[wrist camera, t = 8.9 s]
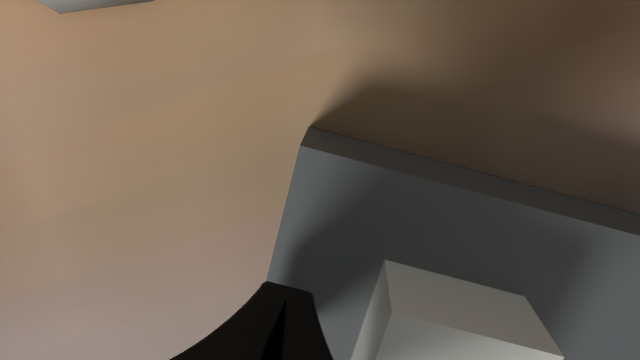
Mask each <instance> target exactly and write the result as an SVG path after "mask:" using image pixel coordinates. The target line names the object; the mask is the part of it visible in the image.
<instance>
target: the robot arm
mask: <svg viewBox="0 0 640 360" xmlns="http://www.w3.org/2000/svg"><path fill="white" fill-rule="evenodd" d="M170 360H334V359H333V357H332V355H331V352H330V350H329V347H328V345H327V342H326V339H325V337H324V334H323V331H322V328H321V325H320V322H319V318H318V315H317V311H316V306H315V301H314V296H313V295H312V293H311V292H308V291H304V290H301V289H297V288H293V287H289V286H285V285H281V284H277V283H273V282H270V281H266V282H264V283H262V285H261V286H260V288H259V289H258V290H257V292H256V293H255V294H254V295H253V296H252V297H251V298H250V299H249V300H248V301H247V303H246V304H245V305H243V306H242V307H241V308H240V309H239V310H238V311H237V312H236V313H235V314H234V315H233V316H232V317H231V318H229V319H228V320H227V321H226V322H225V323H223V324H222V325H221V326H220V327H218V328H217V329H216V330H215V331H213V332H212V333H211V334H209V335H208V336H207V337H205V338H204V339H202V340H201V341H199V342H198V343H197V344H195V345H193V346H192V347H190V348H189V349H187V350H186V351H184V352H182V353H180V354H179V355H177V356H175V357H173V358H172V359H170Z"/></svg>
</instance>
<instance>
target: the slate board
mask: <svg viewBox="0 0 640 360" xmlns="http://www.w3.org/2000/svg"><path fill="white" fill-rule="evenodd" d="M384 260H388V261H392V262H396V263H400V264H404V265H407V266H411V267H415V268H419V269H423V270H426V271H430V272H434V273H438V274H442V275H445V276H449V277H453V278H457V279H461V280H464V281H468V282H472V283H476V284H480V285H483V286H487V287H491V288H495V289H499V290H502V291H506V292H510V293H514V294H518V295H521V296H525V298H526V299H527V301H528V302H529V304H530V305H531V307H532V308H533V310H534V311H535V313H536V314H537V316H538V317H539V319H540V321H541V322H542V324H543V325H544V327H545V328H546V330H547V331H548V333H549V334H550V336H551V337H552V339H553V340H554V342H555V343H556V345H557V347H558V348H559V350H560V351H561V353H562V354H563V356H564V359H563V360H640V215H638V214H634V213H631V212H627V211H623V210H619V209H616V208H612V207H608V206H604V205H601V204H597V203H593V202H589V201H586V200H582V199H578V198H574V197H571V196H567V195H563V194H559V193H556V192H552V191H548V190H544V189H541V188H537V187H533V186H529V185H526V184H522V183H518V182H514V181H511V180H507V179H503V178H499V177H496V176H492V175H488V174H484V173H481V172H477V171H473V170H469V169H466V168H462V167H458V166H454V165H451V164H447V163H443V162H439V161H436V160H432V159H428V158H424V157H421V156H417V155H413V154H409V153H406V152H402V151H398V150H394V149H391V148H387V147H383V146H379V145H376V144H372V143H368V142H364V141H361V140H357V139H353V138H349V137H346V136H342V135H338V134H334V133H331V132H327V131H323V130H319V129H316V128H312V127H308V130H307V132H306V134H305V136H304V138H303V140H302V142H301V145H300V148H299V152H298V156H297V160H296V164H295V168H294V172H293V176H292V180H291V184H290V188H289V192H288V196H287V200H286V204H285V208H284V212H283V216H282V220H281V224H280V228H279V232H278V236H277V240H276V244H275V248H274V252H273V256H272V260H271V264H270V268H269V272H268V276H267V280H266V281H270V282H273V283H277V284H281V285H285V286H289V287H293V288H297V289H301V290H304V291H308V292H311V293H312V295H313V296H314V301H315V306H316V311H317V315H318V318H319V322H320V325H321V328H322V331H323V334H324V337H325V339H326V342H327V345H328V347H329V350H330V352H331V355H332V357H333V359H334V360H351V358H352V355H353V352H354V349H355V346H356V343H357V340H358V337H359V334H360V331H361V328H362V325H363V322H364V319H365V316H366V313H367V310H368V307H369V304H370V301H371V298H372V295H373V292H374V289H375V286H376V283H377V280H378V277H379V275H380V272H381V269H382V266H383V263H384Z"/></svg>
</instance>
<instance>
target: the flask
mask: <svg viewBox="0 0 640 360" xmlns="http://www.w3.org/2000/svg"><path fill="white" fill-rule="evenodd" d="M37 1H39V2H41V3H43V4H44V5H46V6H48V7H49V8H51V9H53V10H55V11H56V12H58V13H68V12H75V11H82V10H90V9H97V8H105V7H112V6H120V5H127V4H135V3H142V2H150V1H154V0H37Z"/></svg>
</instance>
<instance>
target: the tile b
mask: <svg viewBox="0 0 640 360" xmlns="http://www.w3.org/2000/svg"><path fill="white" fill-rule="evenodd" d="M563 359H564V356H563V354H562V353H561V351H560V350H559V348H558V347H557V345H556V343H555V342H554V340H553V339H552V337H551V336H550V334H549V333H548V331H547V330H546V328H545V327H544V325H543V324H542V322H541V321H540V319H539V317H538V316H537V314H536V313H535V311H534V310H533V308H532V307H531V305H530V304H529V302H528V301H527V299H526V298H525V296H521V295H518V294H514V293H510V292H506V291H502V290H499V289H495V288H491V287H487V286H483V285H480V284H476V283H472V282H468V281H464V280H461V279H457V278H453V277H449V276H445V275H442V274H438V273H434V272H430V271H426V270H423V269H419V268H415V267H411V266H407V265H404V264H400V263H396V262H392V261H388V260H384V263H383V266H382V269H381V272H380V275H379V277H378V280H377V283H376V286H375V289H374V292H373V295H372V298H371V301H370V304H369V307H368V310H367V313H366V316H365V319H364V322H363V325H362V328H361V331H360V334H359V337H358V340H357V343H356V346H355V349H354V352H353V355H352V358H351V360H563Z"/></svg>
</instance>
